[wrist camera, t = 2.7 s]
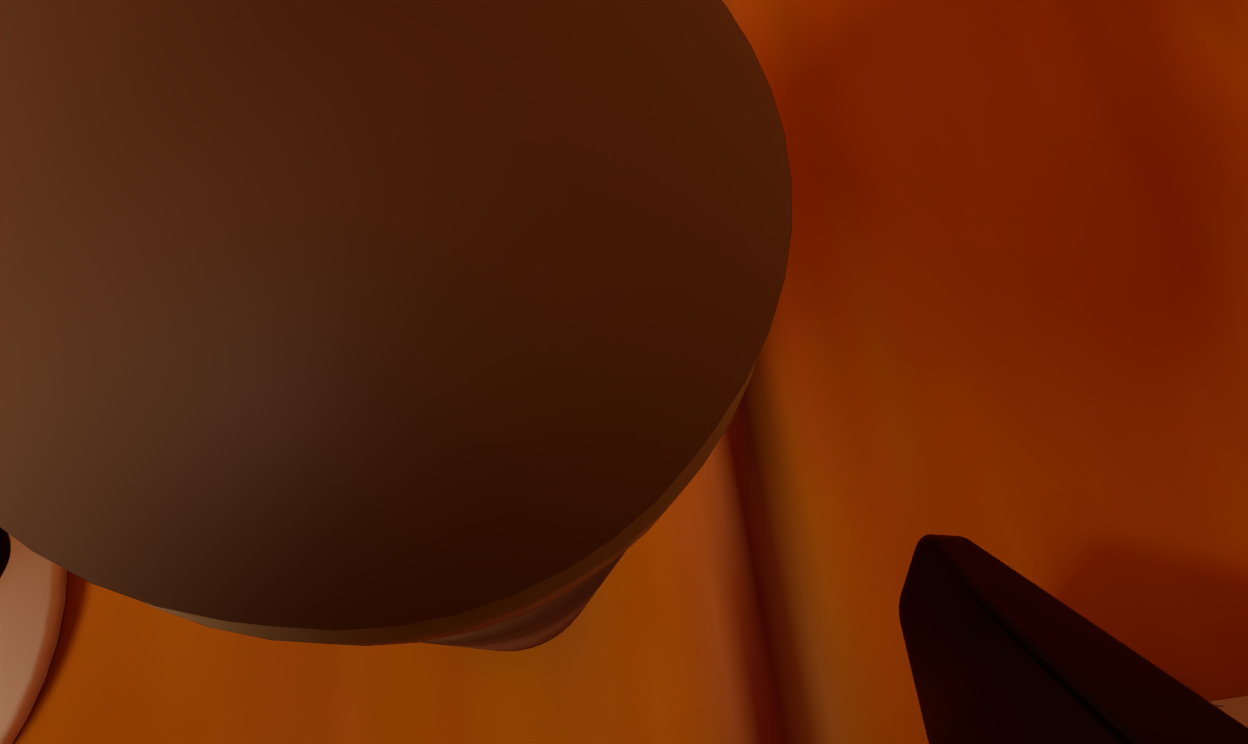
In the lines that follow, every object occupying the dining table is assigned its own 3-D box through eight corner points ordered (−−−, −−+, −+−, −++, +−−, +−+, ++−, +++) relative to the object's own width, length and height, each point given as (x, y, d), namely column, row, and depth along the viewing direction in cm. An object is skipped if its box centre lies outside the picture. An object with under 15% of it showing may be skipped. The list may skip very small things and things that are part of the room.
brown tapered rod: (472, 689, 17) (32, 882, 2) (392, 528, 17) (-267, -13, 3) (630, 594, 17) (978, 334, 3) (546, 445, 18) (543, -259, 4)
